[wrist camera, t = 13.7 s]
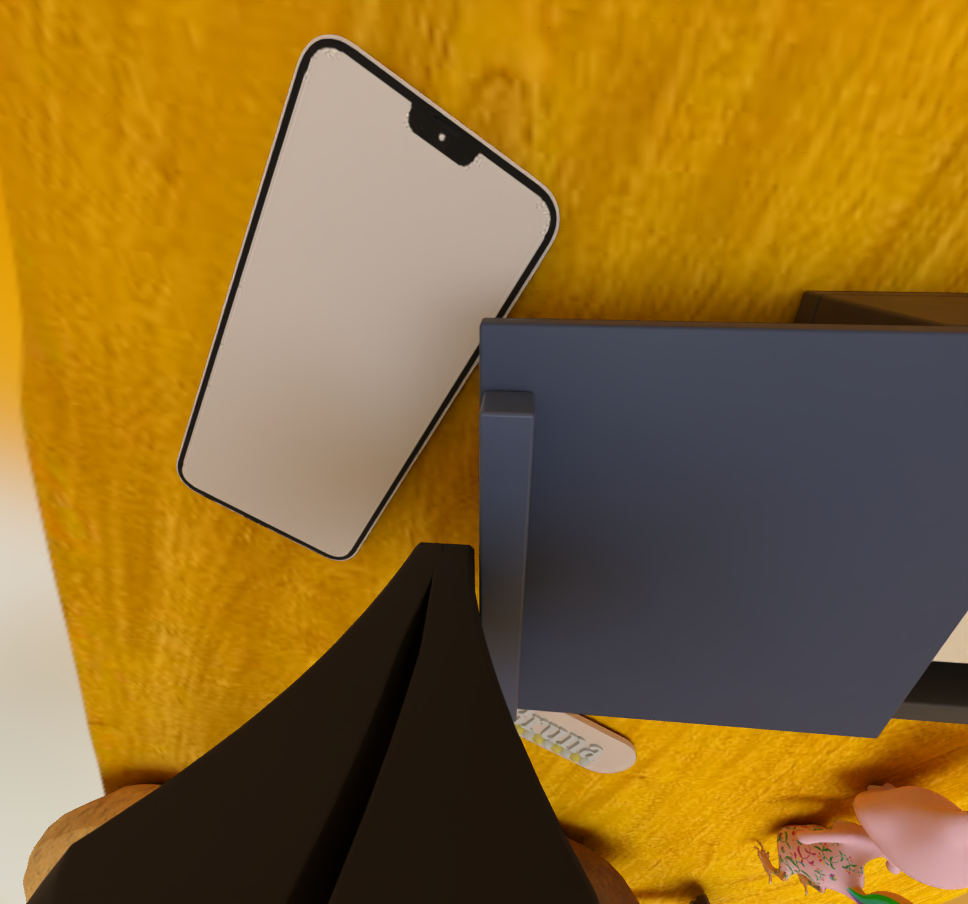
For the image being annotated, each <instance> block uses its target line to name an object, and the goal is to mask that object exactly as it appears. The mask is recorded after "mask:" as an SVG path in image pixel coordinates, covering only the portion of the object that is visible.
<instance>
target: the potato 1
mask: <svg viewBox="0 0 968 904" xmlns="http://www.w3.org/2000/svg"><path fill="white" fill-rule="evenodd" d="M160 786H161V785H157V784H138V785H130V786H124V787H122V788H120V789H118V790H116V791H114V792H112V793H110V794H108V795H106V796H104V797H101V798H99V799H97V800H94V801H92V802H89V803H87V804H85V805H83V806H81V807H79V808H77V809H74V810H73V811H71V812H68V813H66V814H64V815H63V816H62V817H60V818H59V819H58V820H57V821H56V822H54V823H53V824H52V825H51V826H50V827H48V829H47V830H46V831H45V833H44V834H43V836H42V837H41V839H40V840H39V841H38V843H37V844H36V846H35V847H34V849H33V851H32V853H31V855H30V858H29V862H28V866H27V870H26V873H25V876H24V880H23V885H24V890H25V896H26V901H27V902H28V900H29V899H30V898H31V896H32V895H33V894H34V892H35V891H36V889H37V888H38V887H39V885H40V884H41V882H42V881H43V880H44V879H45V877H46V876H47V875H48V873H49V872H50V871H51V870H52V868H53V867H54V866H55V865H56V863H57V862H58V861H59V860H60V858H61V857H62V856H63V855H64V853H65V852H66V851H67V850H68V848H69V847H70V846H71V845H72V844H73V843H74V842H76V841H78V840H79V839H81V838H82V837H84V836H86V835H87V834H89V833H90V832H92V831H93V830H95V829H97V828H98V827H100V826H101V825H103V824H104V823H106V822H107V821H109V820H110V819H112V818H113V817H115V816H116V815H118V814H119V813H121V812H122V811H124V810H125V809H127V808H128V807H130V806H131V805H133V804H134V803H136V802H137V801H139V800H140V799H142V798H143V797H145V796H146V795H148V794H149V793H151V792H152V791H154V790H155V789H157V788H158V787H160Z"/></svg>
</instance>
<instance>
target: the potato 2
mask: <svg viewBox="0 0 968 904" xmlns="http://www.w3.org/2000/svg"><path fill="white" fill-rule="evenodd" d="M567 839H568V841H569V843H570V844H571V846H572V848H573V850H574V852H575V854H576V856H577V858H578V860H579V862H580V864H581V865H582V867H583V869H584V871H585V873H586V875H587V877H588V878H589V880H590V882H591V884H592V886H593V888H594V890H595V892H596V894H597V897H598V900H599V903H600V904H639V902H638V900H637V899H636V897H635V896H634V894H633V893H632V891H631V889H630V888H629V886H628V885H627V883H626V882H625V880H624V879H623V877H622V876H621V875H620V874H619V873H618V872H617V871H616V870H615V868H614V867H613V866H612V865H611V864H610V863H609V862H607V861H606V860H605V859H604V858H602V857H601V856H600V855H598V854H597V853H595V852H594V851H592V850H591V849H589V848H588V847H586V846H585V845H582V844H580V843H578V842H576V841H573V840H571V839H569V838H567Z"/></svg>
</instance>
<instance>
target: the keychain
mask: <svg viewBox="0 0 968 904" xmlns="http://www.w3.org/2000/svg"><path fill="white" fill-rule="evenodd" d="M514 724H515V727H516V729H517V732H518V734H519V736H520V737H522V738H524V739H527V740H529V741H531V742H533V743H535V744H537V745H539V746H541V747H543V748H545V749H547V750H549V751H551V752H553V753H555V754H557V755H560V756H562V757H564V758H566V759H568V760H570V761H572V762H574V763H576V764H578V765H580V766H582V767H584V768H586V769H589V770H591V771H594V772H599V773H616V772H621V771H624V770H626V769H628V768H630V767H631V766H632V765H633V764H634V763H635V761H636V752H635V748H634V746H633V745H632V743H631V742H629V741H628V740H627V739H625V738H623V737H621V736H619V735H617V734H615V733H614V732H612V731H610V730H608V729H606V728H604V727H602V726H600V725H598V724H596V723H594V722H592V721H590V720H588V719H586V718H584V717H582V716H580V715H578V714H572V713H559V712H547V711H535V710H523V709H517V719H516V722H514Z"/></svg>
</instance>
